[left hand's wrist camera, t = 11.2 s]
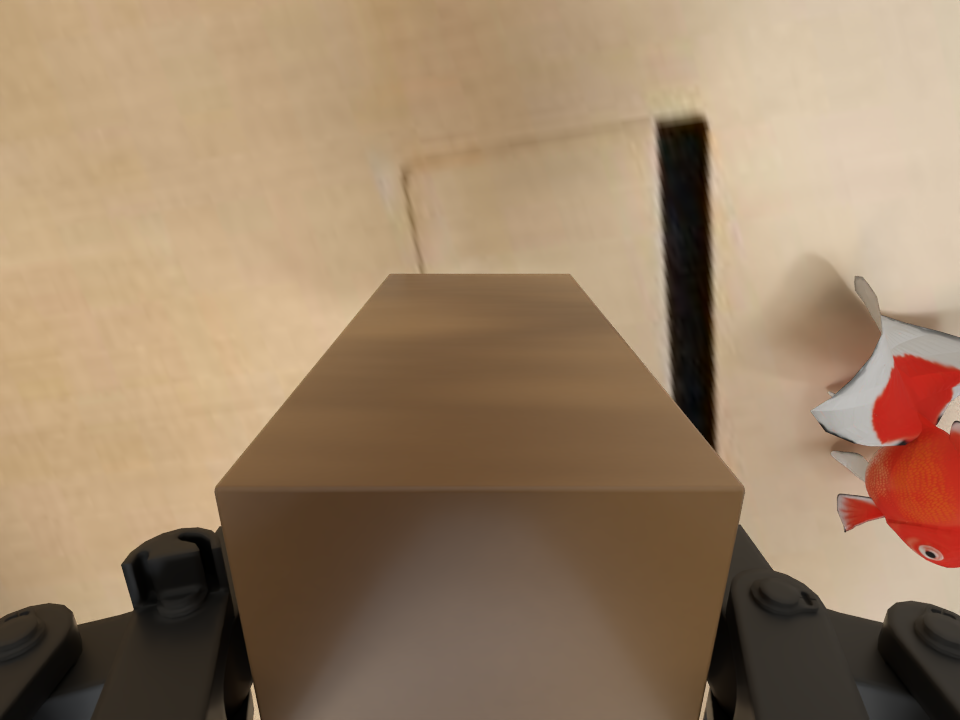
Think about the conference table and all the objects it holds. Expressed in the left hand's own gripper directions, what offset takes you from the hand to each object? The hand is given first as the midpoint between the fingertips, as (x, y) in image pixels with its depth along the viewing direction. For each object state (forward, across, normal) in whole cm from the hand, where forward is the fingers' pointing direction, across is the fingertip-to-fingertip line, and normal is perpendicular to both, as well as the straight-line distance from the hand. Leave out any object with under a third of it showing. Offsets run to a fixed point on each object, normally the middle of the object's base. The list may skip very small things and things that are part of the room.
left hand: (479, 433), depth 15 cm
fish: (+16, -22, +6) cm, 27 cm away
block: (+4, 0, 0) cm, 4 cm away
